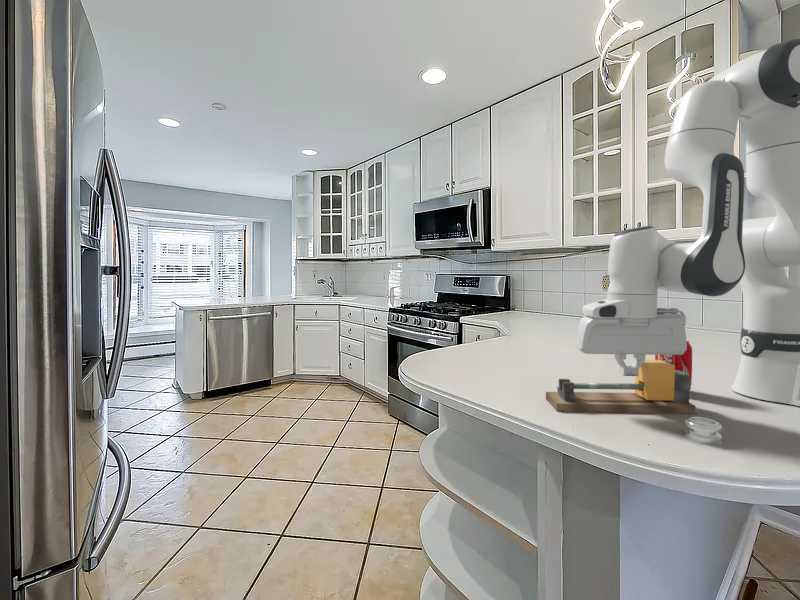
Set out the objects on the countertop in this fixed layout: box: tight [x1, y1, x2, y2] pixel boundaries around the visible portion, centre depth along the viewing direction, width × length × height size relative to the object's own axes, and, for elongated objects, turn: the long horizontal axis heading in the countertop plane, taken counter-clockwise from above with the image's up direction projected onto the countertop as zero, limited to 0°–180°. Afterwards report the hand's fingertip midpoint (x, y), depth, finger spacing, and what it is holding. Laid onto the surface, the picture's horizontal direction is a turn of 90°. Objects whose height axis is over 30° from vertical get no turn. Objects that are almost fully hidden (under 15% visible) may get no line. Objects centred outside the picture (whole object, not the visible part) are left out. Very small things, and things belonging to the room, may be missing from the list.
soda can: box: [654, 338, 693, 392], centre depth 93 cm, size 7×7×12 cm
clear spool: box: [683, 416, 723, 445], centre depth 67 cm, size 5×3×5 cm
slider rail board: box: [545, 370, 696, 414], centre depth 84 cm, size 26×8×7 cm, turn 85°
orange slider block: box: [634, 359, 675, 400], centre depth 83 cm, size 5×5×7 cm
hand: (629, 375), depth 83 cm, fingers closed
